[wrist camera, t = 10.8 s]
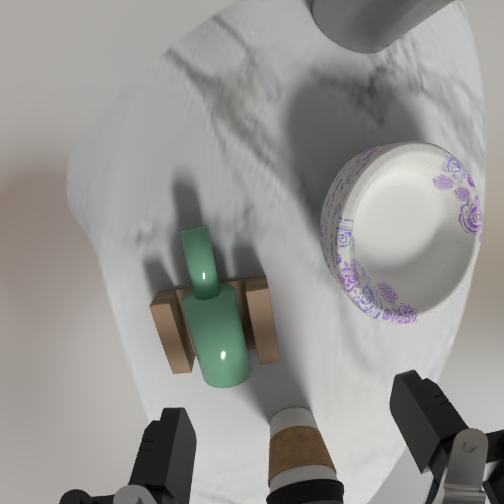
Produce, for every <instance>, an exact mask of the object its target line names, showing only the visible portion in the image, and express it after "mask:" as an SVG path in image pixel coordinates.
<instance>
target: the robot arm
mask: <svg viewBox="0 0 504 504" xmlns="http://www.w3.org/2000/svg"><path fill="white" fill-rule="evenodd" d="M453 1H454V0H313V2H312V13H313V17H314V20H315V21H316V23H317V25H318V27H319V28H320V29H321V30H322V32H323V33H324V34H325V35H326V36H328V37H329V38H330V39H331V40H332V41H334V42H335V43H337V44H338V45H340V46H342V47H345V48H347V49H349V50H352V51H356V52H361V53H375V52H378V51H381V50H383V49H385V48H386V47H388V46H389V45H391V44H392V43H393V42H394V41H396V40H397V39H398V38H400V37H401V36H403V35H404V34H406V33H407V32H408V31H410V30H411V29H413V28H414V27H415V26H417V25H418V24H420V23H421V22H423V21H424V20H426V19H427V18H428V17H430V16H431V15H433V14H434V13H436V12H437V11H439V10H440V9H442V8H443V7H445V6H447V5H448V4H450V3H451V2H453ZM390 411H391V414H392V416H393V418H394V420H395V422H396V424H397V426H398V428H399V430H400V432H401V434H402V436H403V438H404V440H405V442H406V444H407V446H408V447H409V450H410V452H411V454H412V456H413V458H414V460H415V462H416V464H417V466H418V468H419V471H420V473H421V474H423V473H425V472H428V471H430V470H431V472H432V474H433V476H432V478H431V481H430V484H429V487H428V490H427V493H426V497H425V499H424V501H423V504H485V499H486V494H487V496H488V499H489V501H490V503H491V504H504V430H500V431H496V432H491V433H486V434H484V433H483V432H482V431H480V430H478V429H474V428H469V427H468V426H467V425H466V424H465V422H464V421H463V419H462V418H461V416H460V415H459V414H458V412H457V411H456V409H455V408H454V407H453V405H452V404H451V402H449V400H448V398H447V397H446V396H445V395H444V393H443V391H442V390H441V389H440V387H439V386H438V385H437V384H436V383H434V382H433V381H431V380H429V379H428V378H426V379H423V380H422V379H421V377H420V376H419V375H418V373H417V372H416V371H415V370H410V371H407V372H404V373H401V374H397V375H396V376H395V378H394V383H393V388H392V393H391V397H390ZM196 443H197V442H196V434H195V431H194V428H193V426H192V424H191V421H190V419H189V417H188V414H187V412H186V410H185V408H164V409H163V411H162V415H161V418H160V421H155V420H153V421H152V422H151V423H150V424H149V425H148V427H147V428H146V429H145V431H144V434H143V437H142V443H141V444H140V447H139V451H138V454H137V457H136V460H135V464H134V467H133V471H132V475H131V478H130V481H129V483H128V485H127V486H124V487H123V488H121V489H119V490H118V491H117V492H116V494H114V495H109V496H96V497H91V496H90V495H88V494H87V493H86V492H84V491H82V490H78V489H74V490H70V491H68V492H66V493H65V494H64V495H63V496H62V498H61V500H60V503H59V504H189V499H190V491H191V483H192V475H193V467H194V460H195V452H196ZM482 486H483V488H484V490H485V492H486V493H485V492H484V491H482Z"/></svg>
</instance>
